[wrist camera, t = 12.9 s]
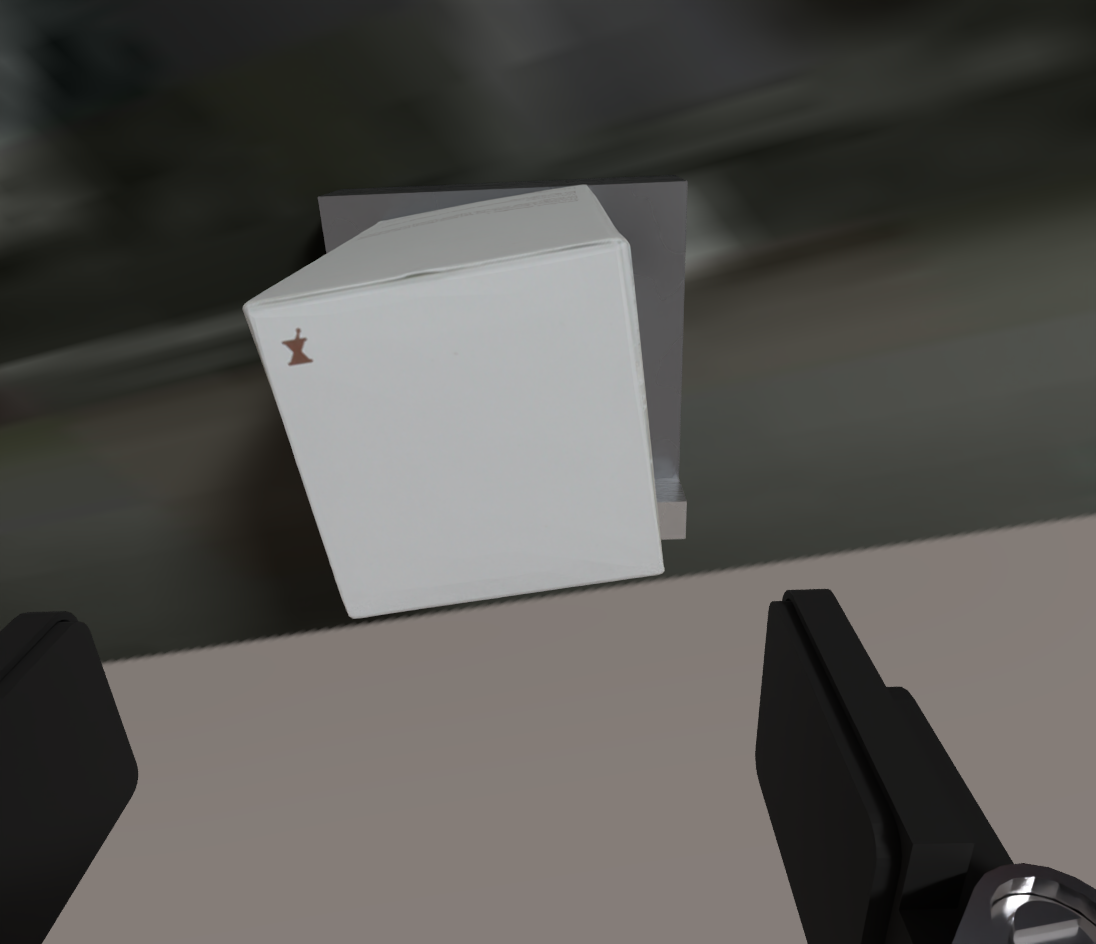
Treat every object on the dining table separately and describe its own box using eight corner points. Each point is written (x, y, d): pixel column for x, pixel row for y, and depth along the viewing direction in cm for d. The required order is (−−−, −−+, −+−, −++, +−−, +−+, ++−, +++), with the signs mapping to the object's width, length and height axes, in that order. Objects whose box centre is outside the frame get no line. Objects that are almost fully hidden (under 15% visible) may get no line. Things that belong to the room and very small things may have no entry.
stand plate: (340, 189, 28) (299, 202, 24) (674, 175, 28) (697, 185, 23) (382, 489, 33) (354, 548, 29) (667, 480, 33) (685, 538, 28)
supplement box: (424, 425, 29) (335, 629, 17) (374, 216, 26) (225, 294, 14) (624, 395, 28) (670, 585, 17) (597, 179, 25) (629, 228, 14)
